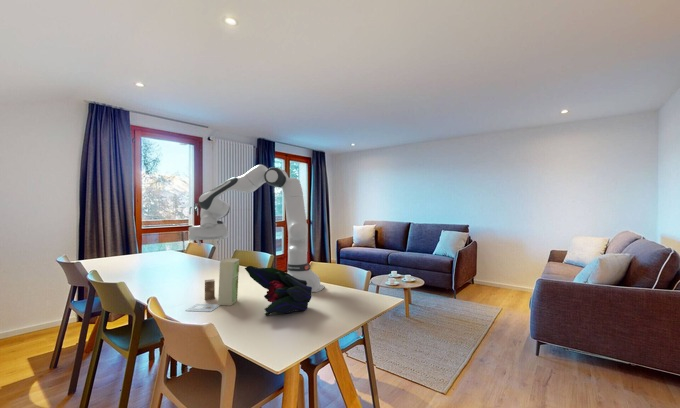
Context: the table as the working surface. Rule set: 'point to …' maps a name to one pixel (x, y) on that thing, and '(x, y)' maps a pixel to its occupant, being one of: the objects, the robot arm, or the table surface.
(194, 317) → the table surface
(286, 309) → the decorative plant
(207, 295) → the walnut block
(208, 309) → the page
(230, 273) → the tall cream box
